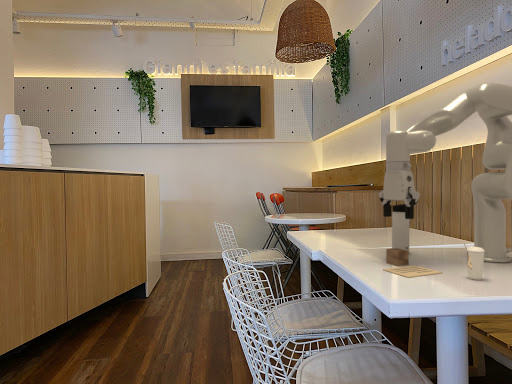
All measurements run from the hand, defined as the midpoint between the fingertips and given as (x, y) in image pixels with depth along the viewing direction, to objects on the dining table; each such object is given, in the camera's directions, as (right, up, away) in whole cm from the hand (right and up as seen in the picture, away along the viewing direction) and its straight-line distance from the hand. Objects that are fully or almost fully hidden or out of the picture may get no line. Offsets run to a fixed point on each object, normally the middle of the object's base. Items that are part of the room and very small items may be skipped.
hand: (398, 217), depth 115 cm
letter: (0, -16, -11) cm, 19 cm away
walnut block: (0, -16, 0) cm, 16 cm away
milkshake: (+14, -16, -19) cm, 28 cm away
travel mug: (+9, -16, +18) cm, 25 cm away
